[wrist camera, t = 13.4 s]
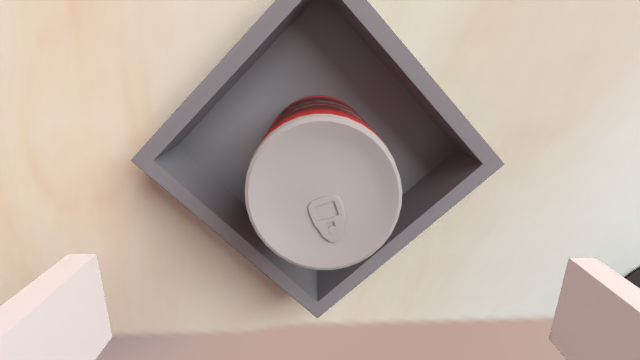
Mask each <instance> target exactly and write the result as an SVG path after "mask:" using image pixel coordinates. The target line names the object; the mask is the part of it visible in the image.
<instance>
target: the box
mask: <svg viewBox="0 0 640 360" xmlns="http://www.w3.org/2000/svg"><path fill="white" fill-rule="evenodd" d="M313 95H322V96H329V97H333V98H336V99H339V100H341V101H343V102H345V103H346V104H348V105H349V106H351V107H352V108H353V109H354V110H355V111H356V112H357V113H358V114H359V115H360V116H361V117H362V118H363V120H364V121H365V122H366V123H367V124H368V125H369V126H370V127H371V129H372V130H373V131H374V132H375V133H376V134H377V135H378V136H379V137H380V139H381V140H382V141H383V143H384V144H385V145H386V147H387V148H388V150H389V152H390V153H391V155H392V157H393V158H394V161H395V164H396V166H397V169H398V172H399V175H400V179H401V186H402V205H401V210H400V214H399V218H398V221H397V223H396V225H395V227H394V229H393V231H392V233H391V235H390V236H389V237H388V239H387V240H386V241H385V243H384V244H383V245H382V246H381V247H380V248H379V249H378V250H377V251H376V252H375V253H374V254H372V255H371V256H369V257H368V258H366V259H364V260H363V261H361V262H359V263H357V264H354V265H351V266H349V267H346V268H341V269H335V270H314V269H309V268H303V267H300V266H298V265H295V264H292V263H290V262H288V261H286V260H285V259H283V258H281V257H280V256H278V255H276V254H275V253H274V252H273V251H272V250H271V249H270V248H268V247H267V246H266V245H265V243H264V242H263V241H262V240H261V238H260V237H259V236H258V235H257V233H256V231H255V229H254V227H253V225H252V223H251V221H250V219H249V215H248V212H247V208H246V203H245V183H246V175H247V171H248V168H249V165H250V162H251V159H252V157H253V155H254V153H255V151H256V149H257V147H258V146H259V144H260V142H261V141H262V139H263V138H264V136H265V135H266V133H267V132H268V130H269V129H270V127H271V125H272V124H273V122H274V121H275V119H276V118H277V116H278V115H279V114H280V113H281V112H282V111H283V110H284V109H285V108H286V107H287V106H288V105H290V104H291V103H293V102H294V101H297V100H299V99H301V98H304V97H308V96H313ZM131 161H132V162H133V163H134V164H136V165H137V166H138V167H139V168H140V169H142V170H143V171H144V172H145V173H146V174H147V175H149V176H150V177H151V178H152V179H153V180H155V181H156V182H157V183H158V184H159V185H160V186H162V187H163V188H164V189H165V190H166V191H168V192H169V193H170V194H171V195H172V196H173V197H175V198H176V199H177V200H178V201H179V202H181V203H182V204H183V205H184V206H185V207H186V208H188V209H189V210H190V211H191V212H192V213H194V214H195V215H196V216H197V217H198V218H199V219H201V220H202V221H203V222H204V223H205V224H206V225H208V226H209V227H210V228H211V229H212V230H214V231H215V232H216V233H217V234H218V235H219V236H221V237H222V238H223V239H224V240H225V241H227V242H228V243H229V244H230V245H231V246H232V247H234V248H235V249H236V250H237V251H238V252H240V253H241V254H242V255H243V256H244V257H245V258H247V259H248V260H249V261H250V262H251V263H253V264H254V265H255V266H256V267H257V268H258V269H260V270H261V271H262V272H263V273H264V274H266V275H267V276H268V277H269V278H270V279H271V280H273V281H274V282H275V283H276V284H277V285H279V286H280V287H281V288H282V289H283V290H284V291H286V292H287V293H288V294H289V295H290V296H292V297H293V298H294V299H295V300H296V301H297V302H299V303H300V304H301V305H302V306H303V307H305V308H306V309H307V310H308V311H309V312H310V313H312V314H313V315H314V316H315V317H316V318H318V317H320V316H321V315H322V314H323V313H324V312H326V311H327V310H328V309H329V308H330V307H332V306H333V305H334V304H335V303H337V302H338V301H339V300H340V299H341V298H343V297H344V296H345V295H346V294H347V293H349V292H350V291H351V290H352V289H354V288H355V287H356V286H357V285H358V284H360V283H361V282H362V281H363V280H364V279H366V278H367V277H368V276H369V275H371V274H372V273H373V272H374V271H375V270H377V269H378V268H379V267H380V266H381V265H383V264H384V263H385V262H386V261H388V260H389V259H390V258H391V257H392V256H394V255H395V254H396V253H397V252H399V251H400V250H401V249H402V248H403V247H405V246H406V245H407V244H408V243H409V242H411V241H412V240H413V239H414V238H416V237H417V236H418V235H419V234H420V233H422V232H423V231H424V230H425V229H426V228H428V227H429V226H430V225H431V224H433V223H434V222H435V221H436V220H437V219H439V218H440V217H441V216H442V215H443V214H445V213H446V212H447V211H448V210H450V209H451V208H452V207H453V206H454V205H456V204H457V203H458V202H459V201H460V200H462V199H463V198H464V197H465V196H467V195H468V194H469V193H470V192H471V191H473V190H474V189H475V188H476V187H477V186H479V185H480V184H481V183H482V182H484V181H485V180H486V179H487V178H488V177H490V176H491V175H492V174H493V173H494V172H496V171H497V170H498V169H499V168H501V167H502V166H503V165H504V163H503V162H502V161H501V159H500V158H499V157H498V156H497V155H496V153H495V152H494V151H493V150H492V149H491V148H490V146H489V145H488V144H487V143H486V142H485V140H484V139H483V138H482V137H481V136H480V134H479V133H478V132H477V131H476V130H475V128H474V127H473V126H472V125H471V124H470V123H469V121H468V120H467V119H466V118H465V117H464V115H463V114H462V113H461V112H460V111H459V109H458V108H457V107H456V106H455V105H454V103H453V102H452V101H451V100H450V99H449V97H448V96H447V95H446V94H445V93H444V92H443V90H442V89H441V88H440V87H439V86H438V84H437V83H436V82H435V81H434V80H433V78H432V77H431V76H430V75H429V74H428V72H427V71H426V70H425V69H424V68H423V66H422V65H421V64H420V63H419V62H418V61H417V59H416V58H415V57H414V56H413V55H412V53H411V52H410V51H409V50H408V49H407V47H406V46H405V45H404V44H403V43H402V41H401V40H400V39H399V38H398V37H397V36H396V34H395V33H394V32H393V31H392V30H391V28H390V27H389V26H388V25H387V24H386V22H385V21H384V20H383V19H382V18H381V16H380V15H379V14H378V13H377V12H376V10H375V9H374V8H373V7H372V6H371V5H370V3H369V2H368V1H367V0H276V1H275V2H274V3H273V4H272V5H271V6H270V8H269V9H268V10H267V11H266V12H265V13H264V14H263V15H262V16H261V17H260V19H259V20H258V21H257V22H256V23H255V24H254V25H253V26H252V27H251V28H250V30H249V31H248V32H247V33H246V34H245V35H244V36H243V37H242V38H241V40H240V41H239V42H238V43H237V44H236V45H235V46H234V47H233V48H232V49H231V51H230V52H229V53H228V54H227V55H226V56H225V57H224V58H223V59H222V60H221V62H220V63H219V64H218V65H217V66H216V67H215V68H214V69H213V70H212V71H211V73H210V74H209V75H208V76H207V77H206V78H205V79H204V80H203V81H202V82H201V84H200V85H199V86H198V87H197V88H196V89H195V90H194V91H193V92H192V94H191V95H190V96H189V97H188V98H187V99H186V100H185V101H184V102H183V103H182V105H181V106H180V107H179V108H178V109H177V110H176V111H175V112H174V113H173V114H172V116H171V117H170V118H169V119H168V120H167V121H166V122H165V123H164V124H163V125H162V127H161V128H160V129H159V130H158V131H157V132H156V133H155V134H154V135H153V136H152V138H151V139H150V140H149V141H148V142H147V143H146V144H145V145H144V146H143V148H142V149H141V150H140V151H139V152H138V153H137V154H136V155H135V156H134V157H133V159H132V160H131Z"/></svg>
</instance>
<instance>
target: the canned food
mask: <svg viewBox="0 0 640 360" xmlns="http://www.w3.org/2000/svg"><path fill="white" fill-rule="evenodd" d="M245 203H246V208H247V212H248V215H249V219H250V221H251V223H252V225H253V227H254V229H255V231H256V233H257V235H258V236H259V237H260V238H261V240H262V241H263V242H264V243H265V245H266V246H267V247H268V248H270V249H271V250H272V251H273V252H274V253H275V254H276V255H278V256H280V257H281V258H283V259H285V260H286V261H288V262H290V263H292V264H295V265H298V266H300V267H303V268H309V269H314V270H335V269H341V268H346V267H349V266H351V265H354V264H357V263H359V262H361V261H363V260H364V259H366V258H368V257H369V256H371V255H372V254H374V253H375V252H376V251H377V250H378V249H379V248H380V247H381V246H382V245H383V244H384V243H385V241H386V240H387V239H388V237H389V236H390V235H391V233H392V231H393V229H394V227H395V225H396V223H397V221H398V218H399V214H400V210H401V205H402V186H401V179H400V175H399V172H398V169H397V166H396V164H395V161H394V158H393V157H392V155H391V153H390V152H389V150H388V148H387V147H386V145H385V144H384V143H383V141H382V140H381V139H380V137H379V136H378V135H377V134H376V133H375V132H374V131H373V130H372V129H371V127H370V126H369V125H368V124H367V123H366V122H365V121H364V120H363V118H362V117H361V116H360V115H359V114H358V113H357V112H356V111H355V110H354V109H353V108H352V107H351V106H349V105H348V104H346V103H345V102H343V101H341V100H339V99H336V98H333V97H329V96H322V95H313V96H308V97H304V98H301V99H299V100H297V101H294V102H293V103H291V104H290V105H288V106H287V107H286V108H285V109H284V110H283V111H282V112H281V113H280V114H279V115H278V116H277V118H276V119H275V121H274V122H273V124H272V125H271V127H270V129H269V130H268V132H267V133H266V135H265V136H264V138H263V139H262V141H261V142H260V144H259V146H258V147H257V149H256V151H255V153H254V155H253V157H252V159H251V162H250V165H249V168H248V171H247V175H246V183H245Z"/></svg>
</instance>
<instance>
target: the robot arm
mask: <svg viewBox="0 0 640 360" xmlns="http://www.w3.org/2000/svg"><path fill="white" fill-rule="evenodd" d="M111 338H112V333H111V328H110V323H109V317H108V312H107V307H106V301H105V296H104V291H103V285H102V280H101V275H100V269H99V264H98V259H97V254H68V255H66V256H65V257H64V258H62V259H61V260H60V261H59V262H57V263H56V264H55V265H53V266H52V267H51V268H49V269H48V270H47V271H46V272H44V273H43V274H42V275H40V276H39V277H38V278H37V279H35V280H34V281H33V282H31V283H30V284H29V285H27V286H26V287H25V288H24V289H22V290H21V291H20V292H18V293H17V294H16V295H15V296H13V297H12V298H11V299H9V300H8V301H7V302H5V303H4V304H3V305H2V306H0V360H95V359H96V358H97V356H98V355H99V354H100V353H101V351H102V350H103V348H104V347H105V346H106V344H107V343H108V342H109V340H110V339H111ZM549 339H550V340H551V342H552V343H553V344H554V345H555V346H556V347H557V349H558V350H559V351H560V352H561V353H562V355H563V356H564V357H565V358H566V359H567V360H640V269H638V270H637V271H635V272H634V273H633V274H631V275H630V276H629V277H627V278H626V279H625V278H624V277H622V276H621V275H620V274H618V273H617V272H615V271H614V270H612V269H611V268H610V267H608V266H607V265H605V264H604V263H602V262H601V261H599V260H598V259H597V258H569V260H568V264H567V268H566V272H565V276H564V280H563V284H562V288H561V292H560V296H559V300H558V304H557V308H556V312H555V316H554V320H553V325H552V328H551V332H550V336H549Z"/></svg>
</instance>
